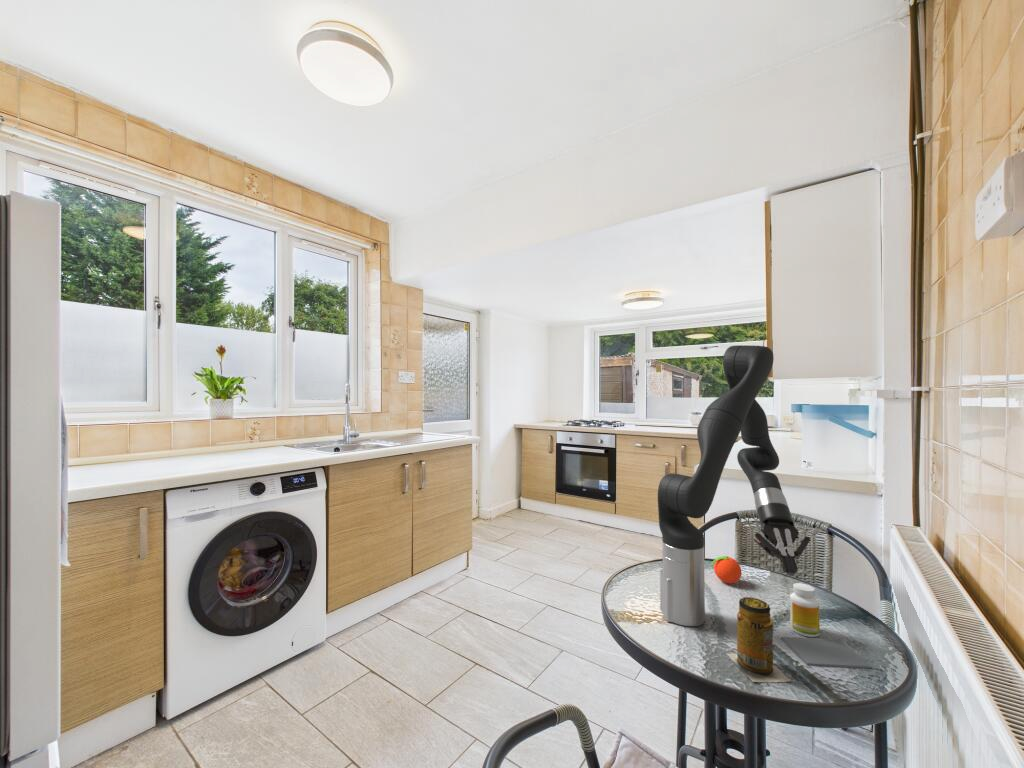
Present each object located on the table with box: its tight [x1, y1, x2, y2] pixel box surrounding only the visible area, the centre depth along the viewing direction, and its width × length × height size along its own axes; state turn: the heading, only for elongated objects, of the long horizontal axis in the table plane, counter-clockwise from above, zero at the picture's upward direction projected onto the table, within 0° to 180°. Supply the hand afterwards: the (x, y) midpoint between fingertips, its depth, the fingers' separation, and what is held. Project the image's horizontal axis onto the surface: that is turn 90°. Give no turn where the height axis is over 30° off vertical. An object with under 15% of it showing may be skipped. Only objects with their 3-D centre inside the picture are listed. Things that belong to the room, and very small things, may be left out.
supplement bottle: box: [789, 582, 821, 638], centre depth 93 cm, size 5×5×10 cm
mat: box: [780, 636, 873, 669], centre depth 85 cm, size 12×9×1 cm
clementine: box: [710, 556, 742, 584], centre depth 118 cm, size 8×7×7 cm
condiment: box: [726, 596, 791, 684], centre depth 81 cm, size 7×8×12 cm
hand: (791, 573), depth 101 cm, fingers closed
